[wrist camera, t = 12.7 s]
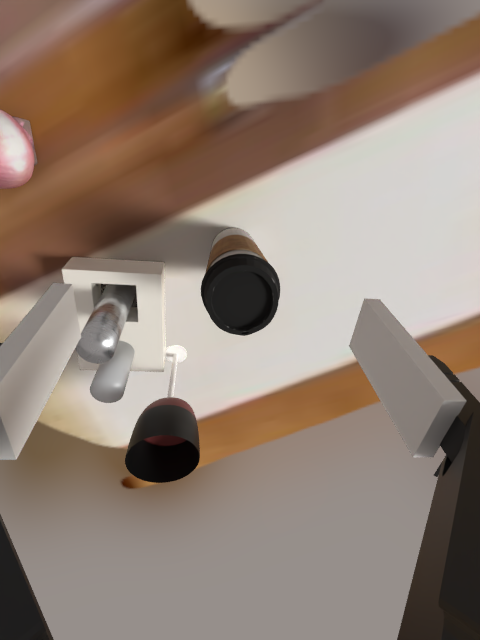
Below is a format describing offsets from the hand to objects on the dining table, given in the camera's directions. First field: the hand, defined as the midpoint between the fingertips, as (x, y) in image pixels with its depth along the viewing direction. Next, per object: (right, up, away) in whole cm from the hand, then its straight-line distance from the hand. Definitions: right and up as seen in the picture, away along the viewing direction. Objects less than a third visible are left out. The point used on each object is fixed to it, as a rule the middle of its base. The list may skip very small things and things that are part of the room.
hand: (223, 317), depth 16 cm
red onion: (-25, +19, +23) cm, 39 cm away
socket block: (-16, +1, +35) cm, 39 cm away
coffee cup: (0, +10, +32) cm, 33 cm away
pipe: (-16, +4, +34) cm, 37 cm away
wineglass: (-10, -5, +41) cm, 42 cm away
